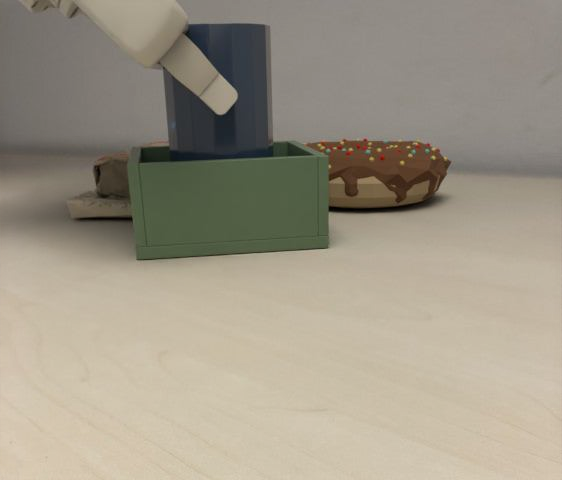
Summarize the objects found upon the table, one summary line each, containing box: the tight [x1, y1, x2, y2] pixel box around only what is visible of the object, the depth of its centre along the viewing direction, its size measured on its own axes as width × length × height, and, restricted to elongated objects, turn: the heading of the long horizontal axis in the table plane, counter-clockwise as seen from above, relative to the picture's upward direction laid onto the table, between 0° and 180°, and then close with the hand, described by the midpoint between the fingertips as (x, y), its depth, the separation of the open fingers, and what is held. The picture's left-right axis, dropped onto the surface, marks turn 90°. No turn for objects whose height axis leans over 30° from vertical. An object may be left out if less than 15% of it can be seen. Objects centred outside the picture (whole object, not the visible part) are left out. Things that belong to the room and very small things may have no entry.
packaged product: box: [65, 141, 169, 219], centre depth 63 cm, size 18×5×10 cm
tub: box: [127, 140, 330, 260], centre depth 49 cm, size 12×11×6 cm
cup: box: [162, 22, 274, 162], centre depth 47 cm, size 7×7×10 cm
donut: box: [302, 137, 452, 209], centre depth 61 cm, size 14×14×5 cm
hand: (227, 104), depth 47 cm, fingers closed on cup, 7 cm apart
